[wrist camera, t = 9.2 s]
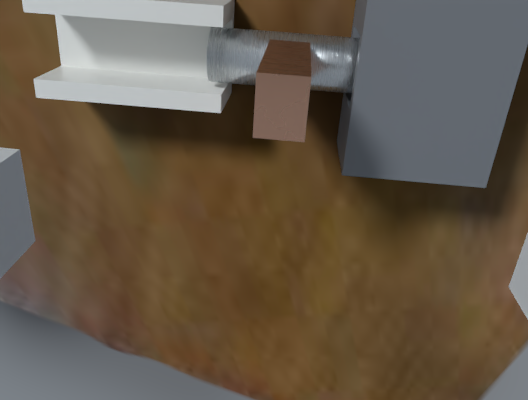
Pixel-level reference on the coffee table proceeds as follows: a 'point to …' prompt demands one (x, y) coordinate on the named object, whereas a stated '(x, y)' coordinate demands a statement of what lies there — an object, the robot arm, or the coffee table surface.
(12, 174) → the robot arm
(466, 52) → the socket block
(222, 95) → the white channel cradle
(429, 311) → the coffee table surface
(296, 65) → the silver peg with handle
